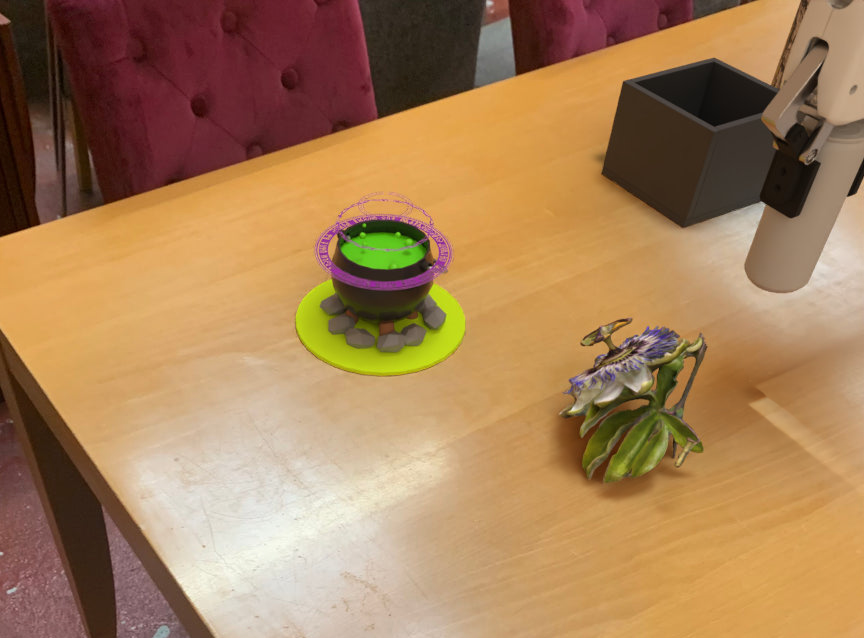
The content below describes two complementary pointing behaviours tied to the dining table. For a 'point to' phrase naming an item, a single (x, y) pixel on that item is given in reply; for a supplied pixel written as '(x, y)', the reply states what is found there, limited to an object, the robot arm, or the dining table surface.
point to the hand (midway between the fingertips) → (807, 195)
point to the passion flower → (631, 380)
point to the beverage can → (806, 216)
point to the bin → (692, 140)
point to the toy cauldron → (381, 299)
